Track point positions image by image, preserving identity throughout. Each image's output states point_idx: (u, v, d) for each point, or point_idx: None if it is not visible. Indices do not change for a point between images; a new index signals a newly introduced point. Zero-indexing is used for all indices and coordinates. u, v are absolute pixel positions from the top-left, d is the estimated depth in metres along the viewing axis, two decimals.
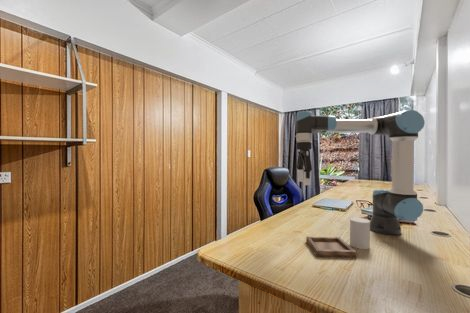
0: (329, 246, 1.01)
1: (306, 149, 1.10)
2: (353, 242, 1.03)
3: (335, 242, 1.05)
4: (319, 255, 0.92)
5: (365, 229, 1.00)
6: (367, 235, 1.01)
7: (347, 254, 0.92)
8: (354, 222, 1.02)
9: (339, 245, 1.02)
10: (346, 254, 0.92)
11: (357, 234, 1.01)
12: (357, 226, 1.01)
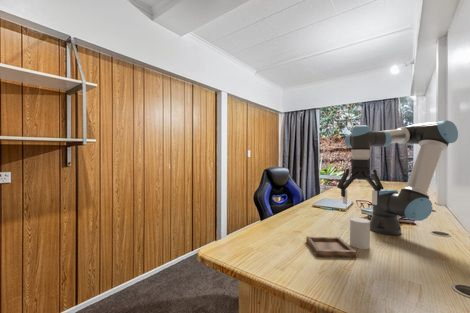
0: (329, 246, 1.01)
1: (352, 167, 1.04)
2: (353, 242, 1.03)
3: (335, 242, 1.05)
4: (319, 255, 0.92)
5: (365, 229, 1.00)
6: (367, 235, 1.01)
7: (347, 254, 0.92)
8: (354, 222, 1.02)
9: (339, 245, 1.02)
10: (346, 254, 0.92)
11: (357, 234, 1.01)
12: (357, 226, 1.01)
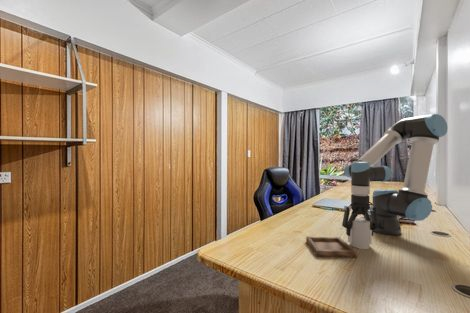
0: (329, 246, 1.01)
1: (351, 203, 1.04)
2: (353, 242, 1.03)
3: (335, 242, 1.05)
4: (319, 255, 0.92)
5: (365, 229, 1.00)
6: (367, 235, 1.01)
7: (347, 254, 0.92)
8: (354, 222, 1.02)
9: (339, 245, 1.02)
10: (346, 254, 0.92)
11: (357, 234, 1.01)
12: (357, 226, 1.01)
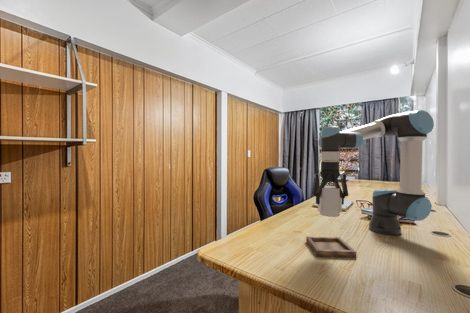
0: (329, 246, 1.01)
1: None
2: (323, 210, 0.98)
3: (335, 242, 1.05)
4: (319, 255, 0.92)
5: (334, 196, 0.96)
6: (336, 202, 0.96)
7: (347, 254, 0.92)
8: (323, 189, 0.98)
9: (339, 245, 1.02)
10: (346, 254, 0.92)
11: (326, 202, 0.97)
12: (326, 193, 0.97)
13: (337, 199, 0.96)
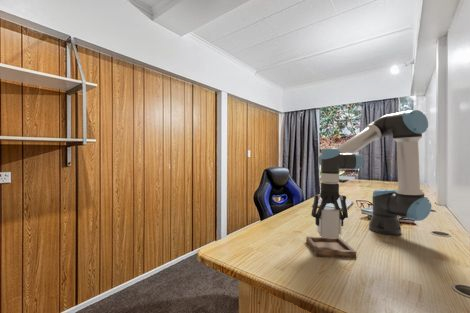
0: (329, 246, 1.01)
1: None
2: (322, 232, 0.98)
3: (335, 242, 1.05)
4: (319, 255, 0.92)
5: (334, 218, 0.96)
6: (336, 224, 0.96)
7: (347, 254, 0.92)
8: (323, 211, 0.98)
9: (339, 245, 1.02)
10: (346, 254, 0.92)
11: (326, 224, 0.97)
12: (326, 215, 0.97)
13: (337, 221, 0.96)
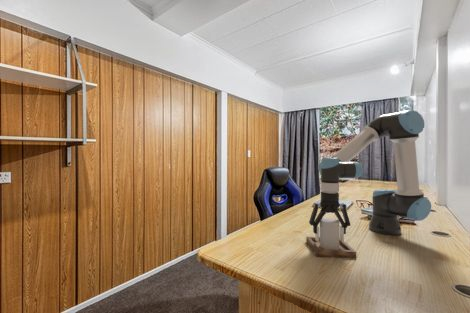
0: None
1: (321, 200, 1.00)
2: (322, 243, 0.98)
3: None
4: (319, 255, 0.92)
5: (334, 230, 0.96)
6: (336, 236, 0.96)
7: (347, 254, 0.92)
8: (323, 222, 0.98)
9: (339, 245, 1.02)
10: (346, 254, 0.92)
11: (326, 235, 0.97)
12: (326, 227, 0.97)
13: (337, 233, 0.96)
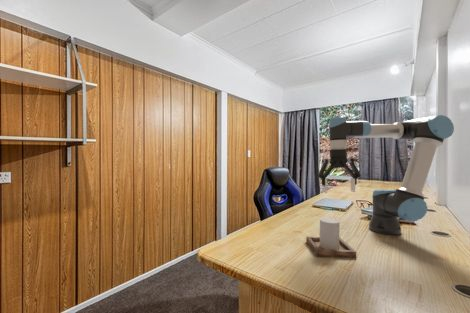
0: None
1: (331, 157, 1.09)
2: (322, 243, 0.98)
3: None
4: (319, 255, 0.92)
5: (334, 230, 0.96)
6: (336, 236, 0.96)
7: (347, 254, 0.92)
8: (323, 223, 0.98)
9: (339, 245, 1.02)
10: (346, 254, 0.92)
11: (326, 235, 0.97)
12: (326, 227, 0.97)
13: (337, 233, 0.96)
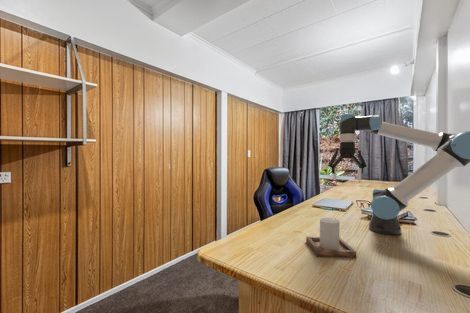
0: None
1: (340, 148, 1.24)
2: (322, 243, 0.98)
3: None
4: (319, 255, 0.92)
5: (334, 230, 0.96)
6: (336, 236, 0.96)
7: (347, 254, 0.92)
8: (323, 223, 0.98)
9: (339, 245, 1.02)
10: (346, 254, 0.92)
11: (326, 235, 0.97)
12: (326, 227, 0.97)
13: (337, 233, 0.96)
